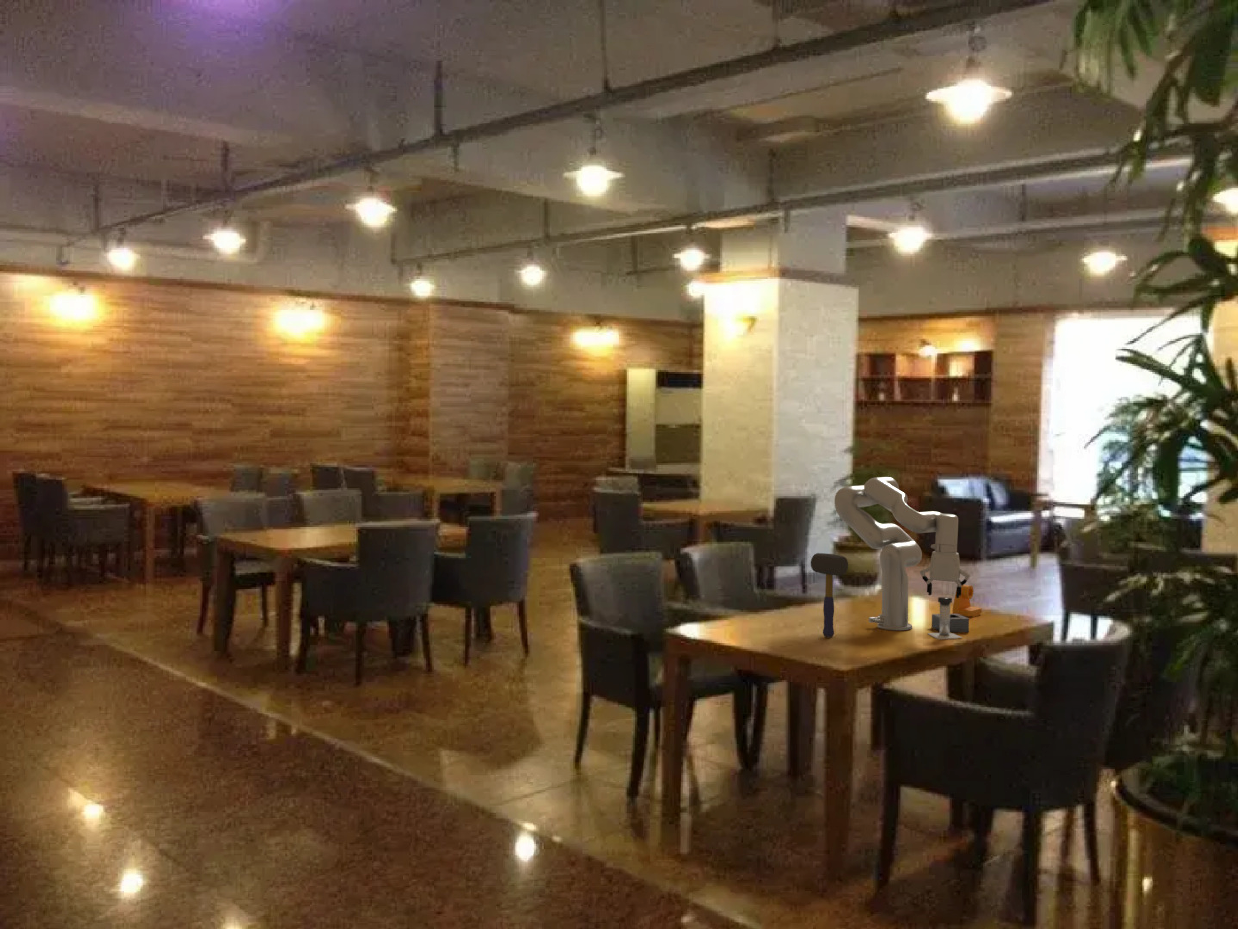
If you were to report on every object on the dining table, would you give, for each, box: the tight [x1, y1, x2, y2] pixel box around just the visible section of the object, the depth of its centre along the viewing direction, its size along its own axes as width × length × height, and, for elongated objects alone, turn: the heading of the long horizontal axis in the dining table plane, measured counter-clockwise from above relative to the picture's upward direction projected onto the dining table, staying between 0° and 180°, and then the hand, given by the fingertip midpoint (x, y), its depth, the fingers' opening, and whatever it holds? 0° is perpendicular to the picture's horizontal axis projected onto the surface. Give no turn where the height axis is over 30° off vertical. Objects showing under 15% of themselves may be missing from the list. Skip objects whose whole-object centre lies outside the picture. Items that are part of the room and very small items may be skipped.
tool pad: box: [927, 632, 963, 640], centre depth 413 cm, size 9×9×1 cm
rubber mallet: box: [810, 552, 849, 639], centre depth 410 cm, size 12×8×30 cm, turn 40°
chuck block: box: [931, 613, 970, 633], centre depth 425 cm, size 10×10×5 cm
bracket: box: [952, 584, 983, 618], centre depth 455 cm, size 11×7×12 cm, turn 136°
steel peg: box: [937, 596, 953, 636], centre depth 412 cm, size 5×5×13 cm
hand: (943, 596), depth 413 cm, fingers open, 9 cm apart
